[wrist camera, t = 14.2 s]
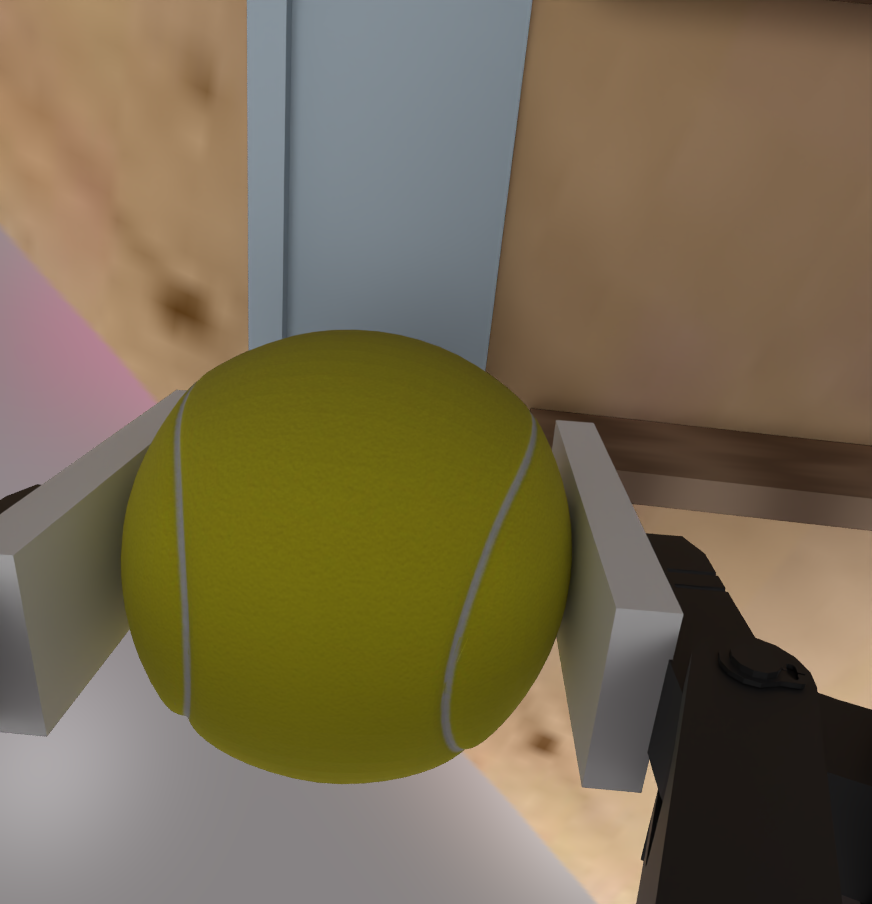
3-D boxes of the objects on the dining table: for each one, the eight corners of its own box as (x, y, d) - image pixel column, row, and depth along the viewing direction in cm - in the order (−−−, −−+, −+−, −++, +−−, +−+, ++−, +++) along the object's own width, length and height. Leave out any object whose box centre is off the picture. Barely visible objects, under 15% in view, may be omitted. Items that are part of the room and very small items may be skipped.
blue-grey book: (549, -85, 21) (246, -128, 20) (481, 443, 27) (248, 427, 26) (535, -63, 23) (259, -100, 22) (474, 423, 29) (259, 408, 28)
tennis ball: (218, 583, 16) (46, 864, 9) (215, 276, 13) (-25, 371, 7) (519, 619, 16) (552, 924, 9) (575, 318, 13) (674, 454, 7)
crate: (1164, -10, 23) (1494, -101, 15) (959, 482, 30) (1120, 584, 22) (603, -65, 23) (662, -180, 16) (526, 434, 30) (541, 519, 23)
